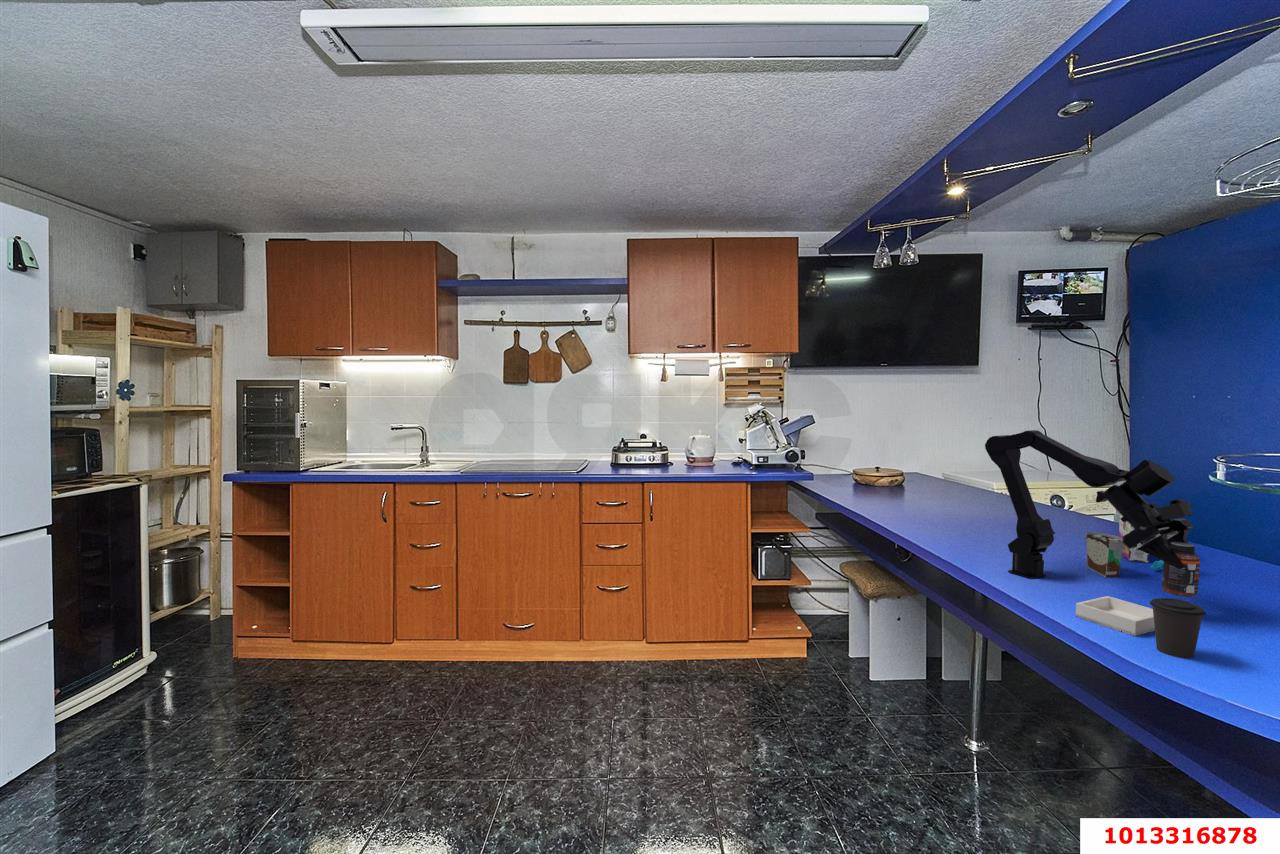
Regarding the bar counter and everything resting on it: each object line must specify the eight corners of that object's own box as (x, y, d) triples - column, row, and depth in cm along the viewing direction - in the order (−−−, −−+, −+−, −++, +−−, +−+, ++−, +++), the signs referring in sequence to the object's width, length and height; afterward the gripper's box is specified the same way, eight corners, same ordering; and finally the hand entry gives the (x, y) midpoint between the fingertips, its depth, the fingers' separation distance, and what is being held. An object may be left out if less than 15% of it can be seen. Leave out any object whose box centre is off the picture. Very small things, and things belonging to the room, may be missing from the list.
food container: (1135, 580, 155) (1137, 543, 154) (1109, 579, 156) (1110, 542, 155) (1108, 566, 167) (1109, 532, 166) (1083, 565, 168) (1085, 531, 167)
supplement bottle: (1201, 600, 126) (1204, 548, 125) (1164, 595, 129) (1168, 545, 129) (1193, 591, 131) (1196, 542, 131) (1158, 587, 134) (1161, 538, 134)
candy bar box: (1150, 563, 169) (1153, 507, 168) (1128, 561, 172) (1131, 506, 171) (1137, 553, 180) (1139, 501, 179) (1117, 551, 182) (1119, 499, 181)
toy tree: (1150, 559, 168) (1185, 540, 162) (1169, 576, 166) (1205, 557, 160) (1145, 572, 161) (1181, 553, 154) (1165, 590, 158) (1202, 571, 152)
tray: (1075, 616, 130) (1076, 603, 130) (1107, 609, 135) (1107, 595, 134) (1135, 636, 120) (1135, 621, 120) (1167, 627, 124) (1167, 613, 124)
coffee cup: (1138, 641, 118) (1140, 592, 117) (1187, 645, 115) (1190, 596, 115) (1161, 658, 110) (1164, 606, 109) (1214, 664, 108) (1217, 611, 107)
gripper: (1142, 490, 128) (1204, 552, 119) (1184, 484, 136) (1245, 542, 127) (1099, 518, 136) (1154, 578, 127) (1142, 511, 144) (1196, 567, 135)
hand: (1189, 566), depth 129 cm, fingers closed on supplement bottle, 6 cm apart
